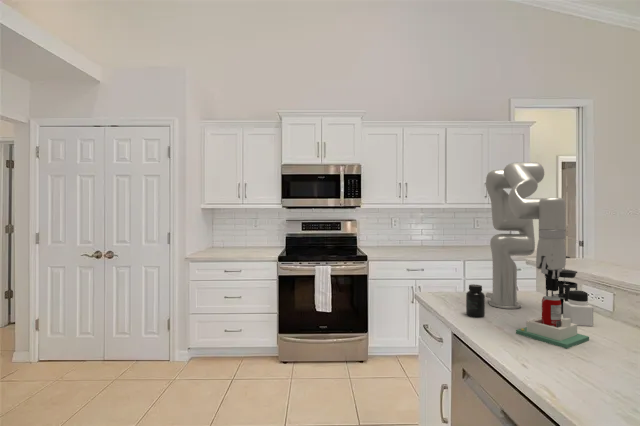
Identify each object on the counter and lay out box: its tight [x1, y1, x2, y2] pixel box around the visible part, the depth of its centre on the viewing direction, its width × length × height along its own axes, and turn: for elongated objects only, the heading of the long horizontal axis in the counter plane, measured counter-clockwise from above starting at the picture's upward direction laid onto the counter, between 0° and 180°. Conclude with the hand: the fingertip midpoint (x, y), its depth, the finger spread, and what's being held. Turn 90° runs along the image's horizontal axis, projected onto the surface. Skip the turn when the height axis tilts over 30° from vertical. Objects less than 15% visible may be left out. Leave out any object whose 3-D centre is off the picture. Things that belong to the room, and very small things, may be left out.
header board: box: [515, 316, 590, 349], centre depth 122 cm, size 16×14×7 cm
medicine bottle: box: [562, 289, 594, 327], centre depth 137 cm, size 7×7×12 cm
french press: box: [545, 255, 578, 315], centre depth 152 cm, size 12×9×23 cm
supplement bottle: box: [465, 283, 486, 319], centre depth 147 cm, size 7×7×12 cm
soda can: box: [541, 295, 562, 328], centre depth 122 cm, size 6×6×12 cm
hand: (551, 290), depth 121 cm, fingers closed
